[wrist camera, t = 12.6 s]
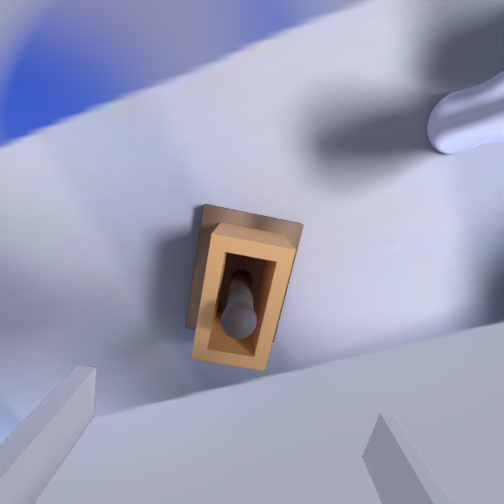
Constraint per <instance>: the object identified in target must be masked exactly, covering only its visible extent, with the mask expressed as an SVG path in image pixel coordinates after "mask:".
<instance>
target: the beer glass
mask: <svg viewBox="0 0 504 504" xmlns="http://www.w3.org/2000/svg"><path fill="white" fill-rule="evenodd" d="M427 135H428V139H429V141H430V143H431V145H432V146H433V147H434V148H435V149H436V150H438V151H439V152H441V153H445V154H456V153H460V152H463V151H465V150H468V149H470V148H473V147H475V146H478V145H482V144H488V143H504V71H502V72H501V73H499V74H498V75H496V76H494V77H493V78H491V79H490V80H488V81H486V82H484V83H482V84H480V85H478V86H475V87H472V88H467V89H463V90H459V91H455V92H452V93H450V94H448V95H446V96H445V97H443V98H442V99H441V100H440V101H439V102H438V103H437V104H436V105H435V107H434V108H433V110H432V111H431V113H430V116H429V119H428V123H427Z"/></svg>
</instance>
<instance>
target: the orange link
mask: <svg viewBox="0 0 504 504" xmlns="http://www.w3.org/2000/svg"><path fill="white" fill-rule="evenodd" d="M295 251H296V249H295V248H294V247H293V246H292V245H291V243H290V242H289V241H288V240H287V239H286V237H285V236H284V235H282V234H277V233H272V232H267V231H262V230H257V229H252V228H247V227H242V226H237V225H232V224H227V223H222V222H221V223H220V224H219V225H218V226H217V228H216V229H215V230H214V231H213V232H212V235H211V241H210V247H209V253H208V259H207V265H206V271H205V277H204V283H203V290H202V296H201V302H200V308H199V314H198V320H197V326H196V332H195V338H194V344H193V350H192V357H191V359H193V360H199V361H206V362H212V363H218V364H225V365H231V366H237V367H244V368H250V369H256V370H263V371H265V369H266V365H267V361H268V357H269V353H270V349H271V345H272V341H273V337H274V333H275V330H276V326H277V322H278V318H279V314H280V310H281V306H282V302H283V298H284V294H285V290H286V286H287V283H288V279H289V275H290V271H291V267H292V263H293V259H294V255H295ZM227 252H228V253H233V254H239V255H244V256H249V257H254V258H260V259H265V260H266V261H265V265H264V270H263V274H262V279H261V283H260V287H259V292H258V296H257V301H256V305H255V310H254V312H255V314H256V318H257V323H256V327H255V329H254V331H253V332H252V333H251V334H250V335H249V336H248V337H246V338H243V339H234V338H231V337H230V336H228V335H227V334H226V333H225V332H224V330H223V328H222V325H221V317H222V314H223V313H220V312H217V307H218V301H219V296H220V291H221V285H222V280H223V274H224V269H225V263H226V258H227Z"/></svg>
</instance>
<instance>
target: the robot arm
mask: <svg viewBox="0 0 504 504" xmlns="http://www.w3.org/2000/svg"><path fill="white" fill-rule="evenodd" d="M95 385H96V368H95V367H89V366H83V365H78V366H77V367H76V368H75V369H74V370H73V371H72V372H71V373H70V374H69V375H68V376H67V377H66V378H65V379H64V380H63V381H62V382H61V383H60V384H59V385H58V386H57V387H56V388H55V389H54V390H53V391H52V392H51V393H50V394H49V395H48V397H47V398H46V399H45V400H44V401H43V402H42V403H41V404H40V405H39V406H38V407H37V408H36V409H35V410H34V411H33V412H32V413H31V414H30V415H29V416H28V417H27V418H26V419H25V420H24V421H23V422H22V423H21V424H20V425H19V426H18V427H17V428H16V429H15V430H14V431H13V432H12V433H11V434H10V435H9V436H8V437H7V438H6V439H5V440H4V441H3V442H2V444H0V504H34V503H35V502H36V500H37V499H38V497H39V496H40V495H41V493H42V492H43V490H44V489H45V487H46V486H47V484H48V483H49V482H50V480H51V479H52V477H53V476H54V474H55V473H56V471H57V470H58V468H59V467H60V466H61V464H62V463H63V461H64V460H65V458H66V457H67V455H68V454H69V452H70V451H71V450H72V448H73V447H74V445H75V443H76V442H77V441H78V439H79V438H80V436H81V435H82V433H83V432H84V431H85V429H86V428H87V426H88V425H89V423H90V422H91V420H92V419H93V418H94V404H95ZM362 457H363V460H364V462H365V465H366V467H367V469H368V472H369V474H370V476H371V479H372V481H373V483H374V485H375V488H376V490H377V493H378V495H379V497H380V500H381V502H382V504H453V503H452V501H451V500H450V498H449V497H448V495H447V494H446V492H445V491H444V489H443V487H442V486H441V484H440V483H439V481H438V480H437V478H436V477H435V475H434V474H433V472H432V471H431V469H430V467H429V466H428V465H427V463H426V461H425V460H424V458H423V457H422V455H421V454H420V452H419V451H418V449H417V448H416V446H415V444H414V443H413V441H412V440H411V438H410V437H409V435H408V434H407V432H406V431H405V429H404V428H403V426H402V425H401V423H400V421H399V420H398V418H397V417H396V415H390V414H384V413H380V415H379V417H378V420H377V422H376V425H375V427H374V429H373V432H372V434H371V437H370V439H369V442H368V444H367V446H366V448H365V451H364V453H363V456H362Z"/></svg>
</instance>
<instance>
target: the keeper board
mask: <svg viewBox="0 0 504 504" xmlns="http://www.w3.org/2000/svg"><path fill="white" fill-rule="evenodd" d="M221 222H222V223H227V224H232V225H237V226H242V227H247V228H252V229H257V230H262V231H267V232H272V233H277V234H282V235H284V236H285V237H286V239H287V240H288V241H289V242H290V243H291V245H292V246H293V247H294V248H295V249H296V251H295V255H294V259H293V263H292V267H291V271H290V275H289V279H288V283H287V286H286V290H285V294H284V298H283V302H282V306H281V310H280V314H279V318H278V322H277V326H276V330H275V333H274V337H273V341H272V342H274V339H275V335H276V331H277V327H278V323H279V319H280V315H281V311H282V307H283V303H284V300H285V296H286V292H287V288H288V284H289V280H290V276H291V272H292V268H293V264H294V261H295V257H296V253H297V249H298V245H299V241H300V237H301V233H302V229H303V224H301V223H297V222H292V221H287V220H282V219H277V218H273V217H268V216H263V215H258V214H253V213H248V212H243V211H238V210H233V209H228V208H223V207H218V206H213V205H209V204H205V205H204V208H203V215H202V222H201V228H200V235H199V241H198V248H197V255H196V261H195V268H194V274H193V281H192V288H191V294H190V301H189V307H188V314H187V321H186V327H185V328H189V329H195V330H196V326H197V320H198V314H199V308H200V302H201V296H202V290H203V283H204V277H205V271H206V265H207V259H208V253H209V247H210V241H211V235H212V232H213V231H214V230H215V229H216V228H217V226H218V225H219V224H220V223H221ZM265 261H266V260H265V259H260V258H254V257H249V256H244V255H239V254H233V253H228V252H227V258H226V263H225V269H224V274H223V280H222V285H221V291H220V296H219V301H218V307H217V312H220V313H223V314H222V317H221V325H222V328H223V330H224V332H225V333H226V334H227V335H228V336H230V337H231V338H234V339H243V338H246V337H248V336H249V335H250V334H251V333H252V332H253V331H254V329H255V327H256V323H257V318H256V314H255V312H254V310H255V305H256V301H257V296H258V292H259V287H260V283H261V279H262V274H263V270H264V265H265Z"/></svg>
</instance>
